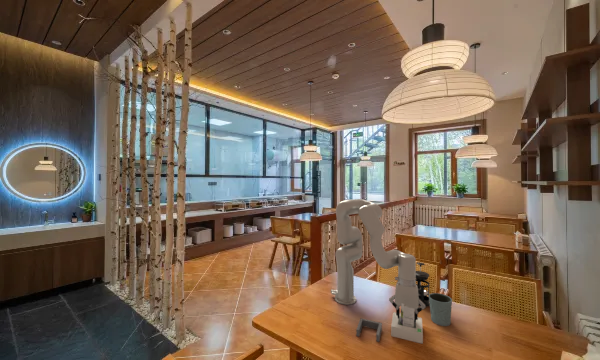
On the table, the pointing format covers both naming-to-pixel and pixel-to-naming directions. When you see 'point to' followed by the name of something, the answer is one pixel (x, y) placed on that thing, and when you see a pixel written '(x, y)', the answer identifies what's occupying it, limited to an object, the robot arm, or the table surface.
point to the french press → (420, 278)
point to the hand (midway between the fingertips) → (406, 318)
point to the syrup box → (407, 316)
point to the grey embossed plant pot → (440, 308)
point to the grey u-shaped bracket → (371, 325)
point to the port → (407, 330)
